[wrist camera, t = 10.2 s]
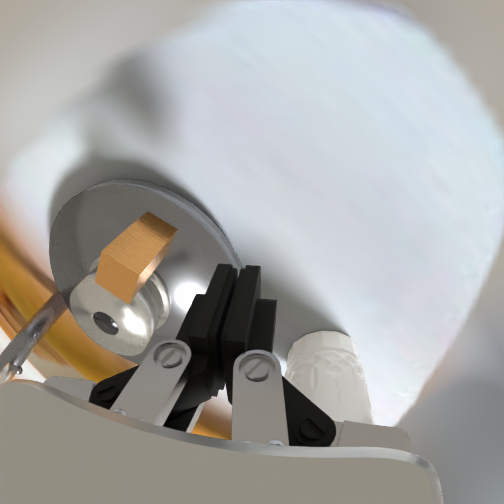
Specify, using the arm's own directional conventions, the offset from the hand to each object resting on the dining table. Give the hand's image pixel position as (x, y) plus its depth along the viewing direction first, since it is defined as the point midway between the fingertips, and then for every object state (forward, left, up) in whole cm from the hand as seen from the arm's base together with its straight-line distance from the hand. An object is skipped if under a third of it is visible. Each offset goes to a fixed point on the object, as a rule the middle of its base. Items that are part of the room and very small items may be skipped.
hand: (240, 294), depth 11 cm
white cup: (-9, -12, -10) cm, 18 cm away
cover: (-10, +6, -7) cm, 14 cm away
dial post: (-21, +15, -9) cm, 27 cm away
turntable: (-11, +6, -8) cm, 15 cm away
